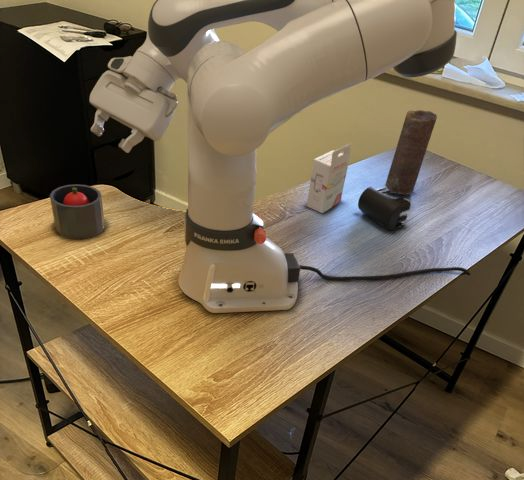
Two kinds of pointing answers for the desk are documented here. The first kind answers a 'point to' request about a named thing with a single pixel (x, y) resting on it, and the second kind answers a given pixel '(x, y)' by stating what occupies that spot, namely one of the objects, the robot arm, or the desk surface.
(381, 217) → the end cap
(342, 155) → the ink cartridge box
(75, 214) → the pot
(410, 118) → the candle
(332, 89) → the robot arm
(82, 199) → the pepper
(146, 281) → the desk surface
